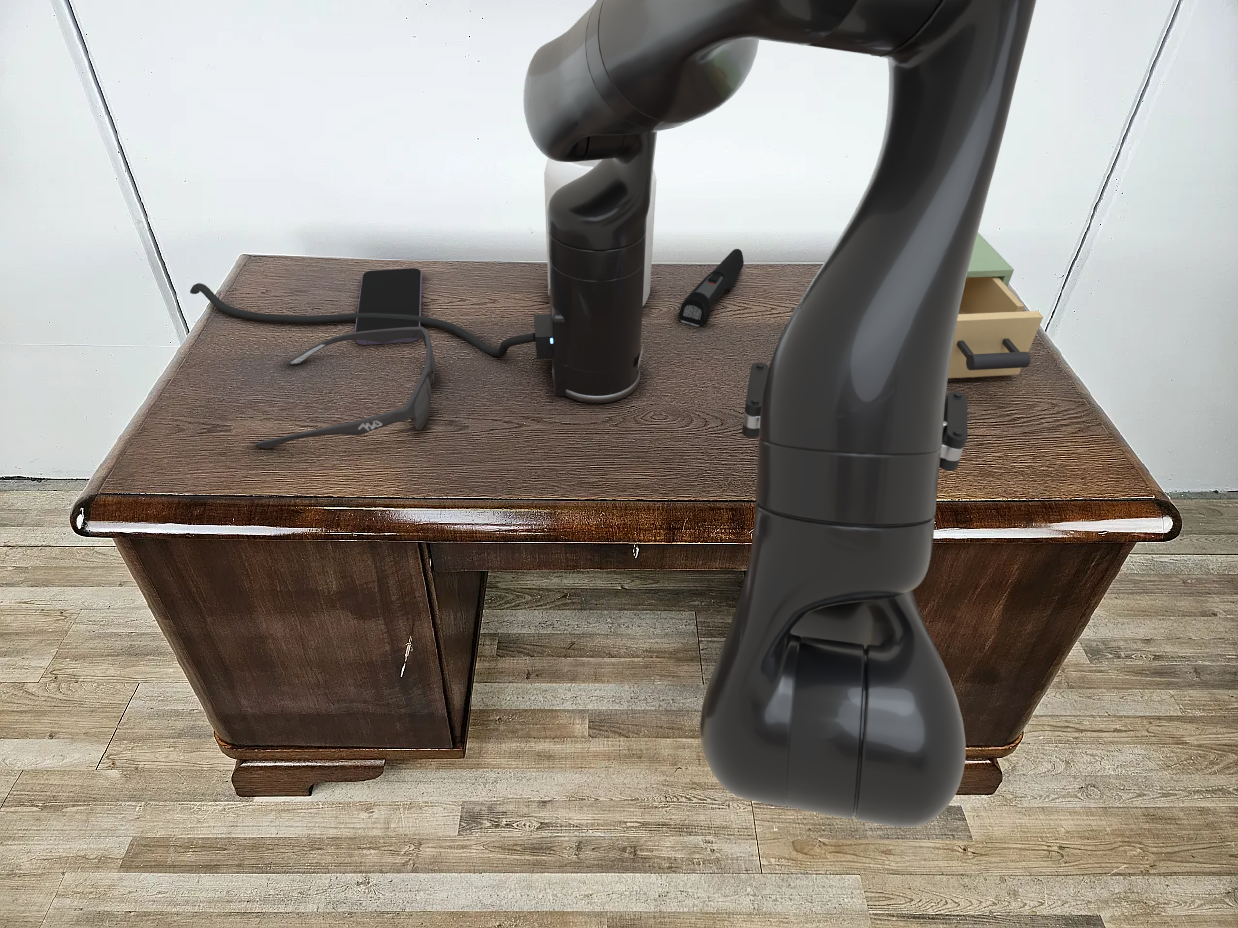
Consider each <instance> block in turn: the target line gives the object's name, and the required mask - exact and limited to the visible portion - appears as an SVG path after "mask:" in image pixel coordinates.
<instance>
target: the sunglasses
mask: <svg viewBox="0 0 1238 928" xmlns="http://www.w3.org/2000/svg"><path fill="white" fill-rule="evenodd" d="M403 338H415V339H418V340H422V341H423V344H424V347H425V359H424V366H423V367H424V368H423V371H422V372H421V375H420V377H419V379H418V381H417V383H416V385H415V387H414V389H413V392H412V393H411V395H410V396H409V399H408V400H407V401H406V404H405V405H404V406H403V407H401V408H394V410H390V411H387V412H384V413H380V414H376V415H373V416H369V417H365V418H361V419H358V420H353V421H349V422H343V423H339V424H334V425H330V426H324V427H321V428H316V429H310V430H305V431H301V432H296V433H292V434H288V435H283V436H279V437H273V438H269V439H265V440H264V439H263V440H261V441H258V442H255V446H257V447H258V448H260V449H265V450H269V449H272V448H275V447H277V446H280V445H282V444H284V443H287V442H292V441H295V440H301V439H307V438H315V437H321V436H335V435H336V436H337V435H338V436H339V435H341V436H359V437H360V436H362V435H365V434H367V433H369V432H371V431H375V430H377V429H380V428H383V427H387V426H390V425H394V424H397V423H401V422H406V421H409V420H410V422H411V423H413V425H414V428H415V429H416V430H418V431H421V430H422V429H423V428H424V427H425V425H426V423H427V421H428V419H429V414H430V409H431V401H432V399H431V398H432V386H431V385H435V379H436V360H435V353H434V349H433V344H432V339H431V335H430V332H429V331H428V330H427V329H426V328H425V327H423V326H421V327H402V328H390V329H379V330H370V331H360V332H355V331H353V332H350V333H349V332H348V333H344V334H340V335H336V336H333V337H330V338H327V339H325V340H322V341H320V342H318V343H317V344H315V345H312V346H311V347H309V348H308V349H306V350H304V351H302V352H301V353H299V354H298V355H296V356H294V357H293V358H292V359H290V360H289V361H288V362H287V365H291V366H295V365H300V364H302V363H303V362H305V361H306V360H307V359H308V358H310V357H311V356H312V355H314V354H315V353H317V352H318V351H320V350H321V349H323V348H326V347H327V346H330V345H334V344H336V343H341V342H345V341H356V340H367V341H374V342H380V343H385V342H389V341H392V340H396V339H403Z"/></svg>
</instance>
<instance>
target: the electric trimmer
mask: <svg viewBox="0 0 1238 928" xmlns="http://www.w3.org/2000/svg"><path fill="white" fill-rule="evenodd" d="M744 264H745V261H744V255H743V251H742V250H741V249H739V248H734V249H732V250H731V252H730V253H729V254H728V255H726V257H724V259H723V260H721V262H720V263H719V264H718V265H717V266H716V267H715V268H714V269H713V271H711V272H710V273H708V274H707V275H706V276H705V277H704V278H703V279H702V281H700V282H699V283H698V285H696V287H695V288H694V289H693V290H692V291H690V292H689V294H688V295H687V296H686V298H684V300H683V301H682V303H681V305H680V308H679V312H678V319H679V320H680V322H681V323H683V324H688V325H691V326H694V327H698V328H699V327H700V326H703V325H706V324H707V323H708V321H709V319H710V317H711V313H712V307H713V306H714V305H715V304H716V303H717V302H718V300H719V298H720V297H721V296H722V295H723V294H724V293H729V292H731V291H732V290H733V288H734V286H735V284H736V282H737V279H738V278H739V276H740V273H741V272H742V269H743V267H744Z"/></svg>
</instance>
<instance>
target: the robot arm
mask: <svg viewBox="0 0 1238 928" xmlns="http://www.w3.org/2000/svg"><path fill="white" fill-rule="evenodd" d="M1036 4H1037V0H596V1H595V2H594V4H592V5H591V6H590V8H588V9H587V11H585V12H584V13H583V15H582V16H581V17H580V18H578V20H577V21H576V22H575V23H574V24H573V25H572V26H571V27H570V28H569V29H568V30H567V31H565V32H564V33H562V34H561V35H559V36H557V37H555V38H554V39H552V40H550V41H548V42H546V43H545V44H543V45H541V46H540V47H539V48H537V50H536V51H535V53H534V54H533V56H532V58H531V60H530V62H529V64H528V67H527V70H526V74H525V78H524V84H523V103H522V104H523V114H524V118H525V123H526V126H527V129H528V132H529V135H530V138H531V139H532V141H533V143H534V145H535V146H536V147H537V149H538V150H539V151H540V153H542V155H544V156H545V157H547V158H548V159H552V160H555V161H558V162H580V161H591V160H601V161H600V162H599V163H598V164H597V165H596V166H595V167H594V168H593V169H591V170H590V171H589V172H587V173H586V174H585V175H583V176H581V177H579V178H577V179H576V180H574V181H572V182H570V183H568V184H566V185H564V186H562V187H561V188H559V189H558V190H557V191H556V192H555V193H554V194H553V195H552V197H551V198H550V200H549V204H548V213H547V215H548V237H549V265H550V289H549V295H548V298H549V313H542V314H541V313H540V314H533V322H534V323H533V324H534V325H533V327H534V332H531V333H525V334H519V335H514V336H511V337H508V338H506V339H504V340H502V341H501V342H500V344H499V347H493V346H490V345H489V344H486V343H485V342H484V341H482V340H480V339H479V338H477V337H476V336H475V335H473V334H472V333H471V332H469V331H467V330H466V329H464V328H462V327H460V326H459V325H457V324H454V323H452V322H448V321H445V320H441V319H438V318H433V317H429V316H423V315H421V316H414V315H403V314H383V313H357V312H350V313H335V314H333V313H332V314H319V315H318V314H316V315H301V314H297V315H296V314H279V313H278V314H276V313H275V314H274V313H265V312H264V313H263V312H257V311H250V310H246V309H241V308H238V307H234V306H231V305H229V304H227V303H225V302H224V301H222V300H221V299H220V298H219V297H218V295H216V294H215V293H214V291H212V290H211V289H210V288H209V287H208V286H207V285H206V284H204V283H201V282H198V283H195V284H193V285H192V287H191V288H190V290H189V293H190V294H191V295H197V294H199V293H201V294H203V296H204V297H205V298H206V299H207V300H208V301H209V302H210V303H211V304H212V305H213V306H214V307H215V308H217V309H218V310H219V311H221V312H222V313H225V314H227V315H229V316H233V317H235V318H239V319H245V320H249V321H255V322H256V321H257V322H263V323H264V322H265V323H280V324H281V323H282V324H301V325H303V324H305V325H308V324H311V325H314V324H317V325H318V324H333V323H334V324H335V323H348V322H356V319H357V318H359V317H370V318H393V319H407V320H416V321H420V324H421V326H429V327H433V328H436V329H442V330H444V331H447V332H450V333H452V334H454V335H456V336H458V337H460V338H461V339H463V340H464V341H466V342H467V343H469V344H471V345H472V346H473V347H475V348H476V349H478V350H480V351H482V352H484V353H485V354H487V355H489V356H492V357H494V358H495V357H496V358H502V357H504V356H505V355H507V354H508V353H507V352H508V350H509V349H510V348H512V347H514V346H519V345H524V344H525V345H526V344H530V343H534V344H535V353H536V354H535V356H536V360H538V361H542V360H551V368H552V369H551V373H552V374H551V375H552V382H553V389H554V396H556V397H568V398H569V399H571V400H574V401H578V402H581V403H588V404H606V403H611V402H612V403H613V402H616V401H620V400H622V399H624V398H626V397H628V396H629V395H631V394H632V393H633V392H634V391H635V390H636V389H637V388H638V386H639V384H640V381H641V361H642V356H643V353H644V345H642V326H643V324H642V323H643V308H644V306H643V288H644V268H645V248H646V229H647V215H648V211H649V207H650V201H651V190H652V176H653V167H655V166H654V165H655V154H656V147H657V138H658V132H661V131H666V130H671V129H675V128H678V127H681V126H683V125H685V124H689V123H690V122H693V121H695V120H697V119H700V118H703V117H705V116H707V115H709V114H711V113H713V112H714V111H716V110H717V109H719V108H721V107H722V106H723V105H724V104H725V103H727V102H728V101H729V100H730V99H732V98H733V97H734V96H735V95H736V93H737V92H738V91H739V90H740V89H741V87H742V86H743V85H744V83H745V81H746V79H747V78H748V76H749V74H750V72H751V70H752V68H753V65H754V62H755V60H756V57H757V54H758V49H759V44H760V40H761V41H768V42H776V43H783V44H790V45H797V46H801V47H804V46H806V47H812V48H818V49H819V48H820V49H826V50H834V51H839V52H846V53H847V52H848V53H853V54H861V55H868V56H872V57H879V58H881V59H882V58H883V59H887V67H888V95H887V97H888V99H887V110H886V111H887V112H886V119H885V127H884V131H883V137H882V142H881V147H880V150H879V153H878V157H877V160H876V163H875V166H874V168H873V170H872V174H871V176H870V179H869V181H868V185H867V186H866V188H865V190H864V192H863V194H862V196H861V198H860V200H859V202H858V204H857V206H856V208H855V210H854V211H853V213H852V215H851V218H850V219H849V221H848V223H847V224H846V226H845V228H844V229H843V231H842V233H841V234H840V236H839V237H838V240H837V241H836V243H835V244H834V246H833V247H832V249H831V250H830V252H829V254H828V255H827V257H826V259H825V260H824V262H823V263H822V265H821V267H820V268H819V270H817V273H816V274H815V276H814V277H813V279H812V280H811V282H810V284H808V286H807V288H806V290H805V291H804V293H803V295H802V297H801V298H800V300H799V302H798V303H797V305H796V307H795V308H794V309H793V311H792V313H791V314H790V316H789V318H788V320H787V323H786V324H785V326H784V328H783V330H782V332H781V334H780V336H779V339H778V342H777V344H776V347H775V349H774V351H773V354H772V358H771V360H770V364H769V365H768V364H767V363H764V362H754V363H752V364H751V365H750V372H749V378H748V385H747V391H746V398H745V403H744V404H745V405H744V413H743V421H742V428H741V434H742V435H743V436H744V437H746V438H749V439H756V438H759V439H758V451H757V467H756V468H757V469H756V486H755V505H754V517H753V518H754V519H753V526H752V527H753V529H752V537H751V543H750V544H751V545H750V552H749V556H748V562H747V567H746V571H745V575H744V580H743V584H742V587H741V591H740V594H739V598H738V601H737V604H736V608H735V611H734V614H733V616H732V620H731V623H730V626H729V628H728V631H727V633H726V636H725V639H724V641H723V644H722V647H721V649H720V651H719V654H718V657H717V659H716V662H715V665H714V668H713V670H712V672H711V675H710V678H709V680H708V683H707V688H706V691H705V693H704V698H703V701H702V705H701V711H700V716H699V717H700V718H699V737H700V744H701V748H702V749H701V750H702V752H703V753H702V754H703V755H704V758H705V760H706V761H705V762H707V765H708V767H709V769H710V771H711V772H712V774H713V776H714V777H715V778H716V780H717V782H718V783H719V784H720V785H721V786H722V787H723V788H724V789H725V790H726V791H728V792H729V793H730V794H732V795H734V796H736V797H738V798H742V799H744V800H747V801H750V802H751V801H752V802H755V803H761V804H765V805H766V804H767V805H770V806H771V805H772V806H775V807H776V806H777V807H783V808H786V807H787V808H789V809H796V810H801V811H805V812H806V811H807V812H811V813H817V814H823V815H828V816H832V817H833V816H834V817H839V818H845V819H849V820H852V819H853V818H855V820H857V821H859V822H864V823H865V822H866V823H870V824H876V825H881V826H888V827H893V828H913V827H914V828H915V827H919V826H922V825H926V824H927V823H929V822H931V821H933V820H935V819H936V818H937V817H938V816H939V815H941V814H942V813H943V812H944V811H945V810H946V809H947V808H948V806H950V803H951V802H952V801H953V799H954V798H955V796H956V794H957V792H958V790H959V788H960V786H961V782H962V779H963V776H964V772H965V765H966V757H967V756H966V755H967V753H966V752H967V751H966V750H967V749H966V747H967V744H966V733H965V726H964V725H965V724H964V720H963V716H962V712H961V708H960V704H959V699H958V697H957V694H956V691H955V689H954V686H953V684H952V680H951V677H950V675H949V673H948V670H947V668H946V666H945V664H944V661H943V659H942V657H941V655H940V653H939V650H938V649H937V647H936V645H935V643H934V640H933V638H932V636H931V635H930V633H929V631H928V629H927V627H926V623H925V621H924V620H923V617H922V615H921V612H920V608H919V606H918V603H917V601H916V597H915V595H914V590H915V589H916V588H918V587H919V586H920V585H921V584H922V583H923V581H924V579H925V578H926V577H927V574H928V571H929V568H930V563H931V561H932V555H933V554H932V553H933V546H934V545H933V544H934V533H935V521H936V518H935V517H936V510H937V499H938V489H939V488H938V487H939V475H940V469H942V470H944V471H948V472H954V471H957V469H958V468H959V464H960V461H961V458H962V455H963V452H964V449H965V446H966V442H967V439H968V436H969V435H968V433H969V432H968V431H969V430H968V429H969V428H968V423H969V422H968V395H966V394H965V393H964V392H961V391H957V390H952V391H949V392H948V393H947V389H948V380H949V378H948V373H949V365H950V358H951V352H952V346H953V341H954V335H955V330H956V324H957V318H958V314H959V309H960V304H961V300H962V295H963V290H964V286H965V281H966V277H967V273H968V269H969V265H970V261H971V256H972V252H973V248H974V244H975V241H976V237H977V233H979V228H980V226H981V222H982V218H983V215H984V210H985V207H986V203H987V198H988V195H989V190H990V187H991V183H992V179H993V177H994V173H995V168H996V165H997V161H998V157H999V154H1000V149H1001V145H1002V142H1003V140H1004V139H1003V138H1004V134H1005V131H1006V126H1007V122H1008V119H1009V115H1010V110H1011V106H1012V101H1013V97H1014V92H1015V88H1016V84H1017V80H1018V75H1019V71H1020V68H1021V63H1022V59H1023V56H1024V52H1025V49H1026V44H1027V40H1028V36H1029V32H1030V28H1031V25H1032V19H1033V16H1034V12H1035V7H1036Z"/></svg>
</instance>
